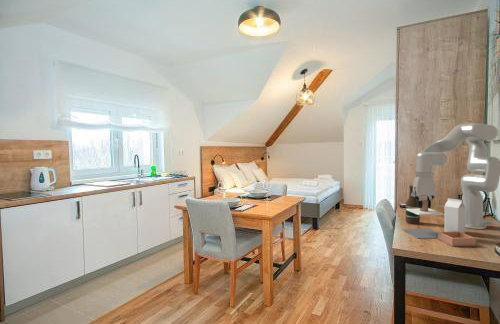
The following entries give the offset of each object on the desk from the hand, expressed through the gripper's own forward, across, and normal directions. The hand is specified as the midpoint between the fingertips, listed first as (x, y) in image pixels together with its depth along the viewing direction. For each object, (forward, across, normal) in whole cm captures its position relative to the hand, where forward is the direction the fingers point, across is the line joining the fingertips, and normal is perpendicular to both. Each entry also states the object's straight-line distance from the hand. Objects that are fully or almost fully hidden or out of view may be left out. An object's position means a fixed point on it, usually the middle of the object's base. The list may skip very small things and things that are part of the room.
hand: (423, 207), depth 155 cm
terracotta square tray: (+15, -7, +15) cm, 22 cm away
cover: (+3, 0, 0) cm, 3 cm away
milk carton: (+15, -18, -2) cm, 24 cm away
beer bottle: (+15, -6, -23) cm, 28 cm away
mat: (+15, 0, 0) cm, 15 cm away
